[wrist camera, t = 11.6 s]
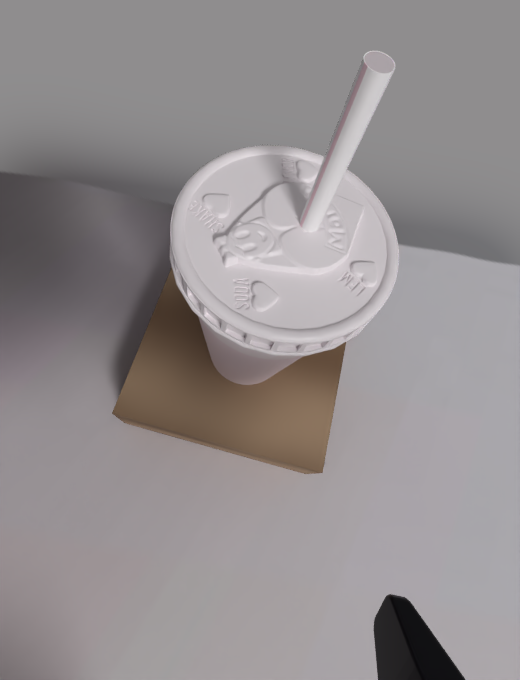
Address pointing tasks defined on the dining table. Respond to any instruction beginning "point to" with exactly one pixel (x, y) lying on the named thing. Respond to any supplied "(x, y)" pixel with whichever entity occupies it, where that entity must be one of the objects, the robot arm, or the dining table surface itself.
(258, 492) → the dining table surface
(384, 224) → the smoothie
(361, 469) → the dining table surface
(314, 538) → the dining table surface
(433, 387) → the dining table surface
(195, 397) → the plate
